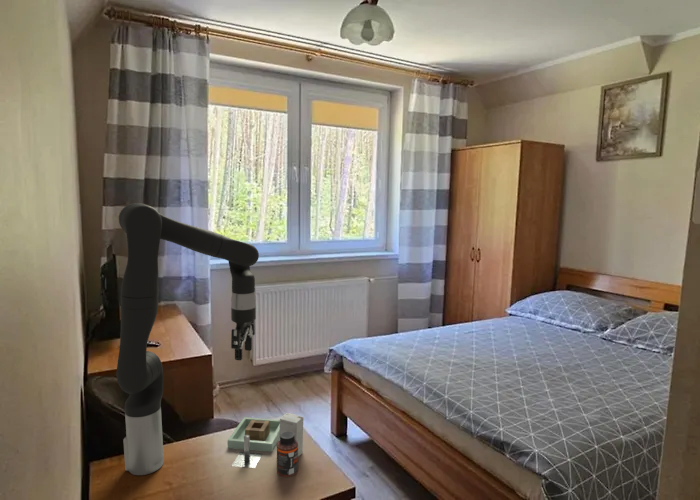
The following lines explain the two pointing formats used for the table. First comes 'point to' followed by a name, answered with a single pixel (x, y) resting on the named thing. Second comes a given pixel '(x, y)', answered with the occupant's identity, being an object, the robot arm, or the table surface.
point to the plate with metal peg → (247, 456)
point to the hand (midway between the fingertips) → (243, 354)
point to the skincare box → (293, 428)
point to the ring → (258, 430)
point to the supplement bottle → (287, 454)
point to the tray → (267, 445)
